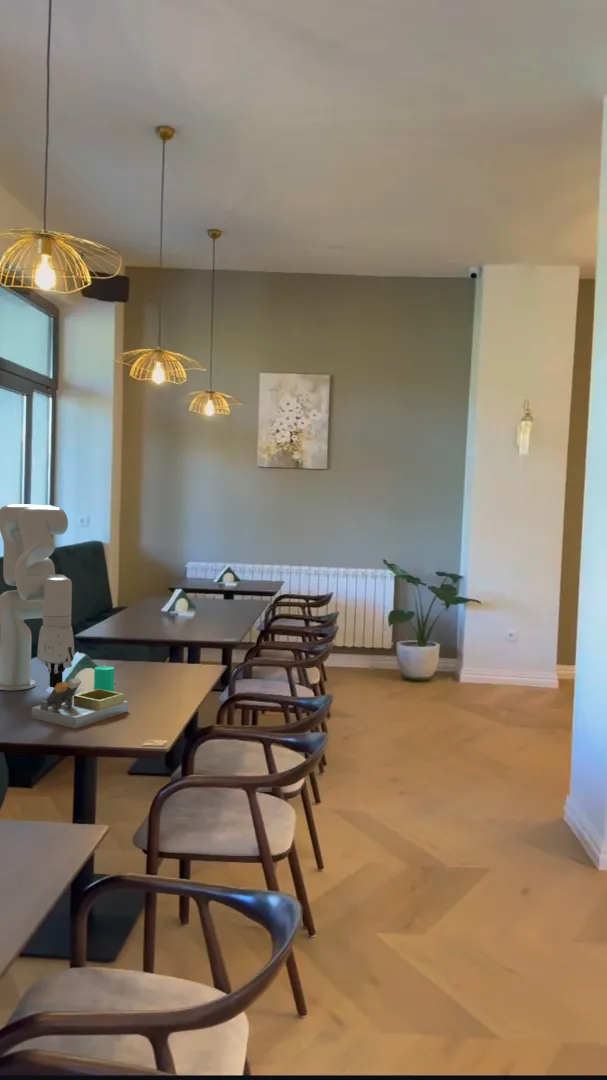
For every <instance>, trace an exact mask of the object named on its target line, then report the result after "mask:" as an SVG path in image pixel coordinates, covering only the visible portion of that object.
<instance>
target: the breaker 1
mask: <svg viewBox="0 0 607 1080" xmlns="http://www.w3.org/2000/svg"><path fill="white" fill-rule="evenodd" d="M68 686H69V685H68V682H67V681H62V682H61V683H57V684H56V686H55V688H53V690H52V691H51V692H50V694H49V696H48V697H47V699H46V701H47V702H48V708H49V707H52V706H55V705H56V704H57V703H58V702H59V700H60V698H61V697H62V695H63V694H64V692H65V691H66V690H67V688H68Z"/></svg>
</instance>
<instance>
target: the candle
mask: <svg viewBox="0 0 607 1080" xmlns="http://www.w3.org/2000/svg"><path fill="white" fill-rule="evenodd" d="M115 671H116V669H115V668H114V666H108V665H107V666H106V663H104V665H99V666H96V667H94V673H93V675H94V676H93V677H94V678H93V690H95V689H103V690H108V691H113V692H115Z"/></svg>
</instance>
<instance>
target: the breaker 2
mask: <svg viewBox="0 0 607 1080" xmlns="http://www.w3.org/2000/svg"><path fill="white" fill-rule="evenodd" d="M67 684H68V685H69V686H68V688H67V690H66V691H65V692H64V694H63V695H62V697H61V698H62V704H63V703H67V702H69V700H71V698H72V696H74V695H75V693H76V691H77V689H78V688H79V687H80V685H81V684H82V680H81V679H80V678H79V677H76V678H72V679H69V681H68V682H67Z"/></svg>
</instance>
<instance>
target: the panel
mask: <svg viewBox="0 0 607 1080" xmlns="http://www.w3.org/2000/svg"><path fill="white" fill-rule="evenodd" d="M39 703H40V704H38V705H36V706H32V707H31V718H32V719H34V720H35V719H36V720H39V721H43V722H46V723H51V724H56V725H59V726H64V727H67V728H71V729H74V730H75V729H78V728H82V727H84V726H87V725H90V724H91V725H92V724H93V723H94V724H95V723H96V722H97V723H98V722H100V721H103V720H106V719H108V718H112V717H115V716H118V715H121V714H124V713H125V714H126V713H127V712H129V701H127V700H125V694H124V693H121V692H117V691H114V692H113V691H108V690H103V689H95V690H94V689H92V690H89V691H85V692H81V693H77V694H74V695H73V696H72V698H71V700H69V702H67V703H63V704H62V698H60V700H59V702H58V703H57V704H56V705H55V706H52V707H49V708H48V702H47V700H40V702H39Z"/></svg>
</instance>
